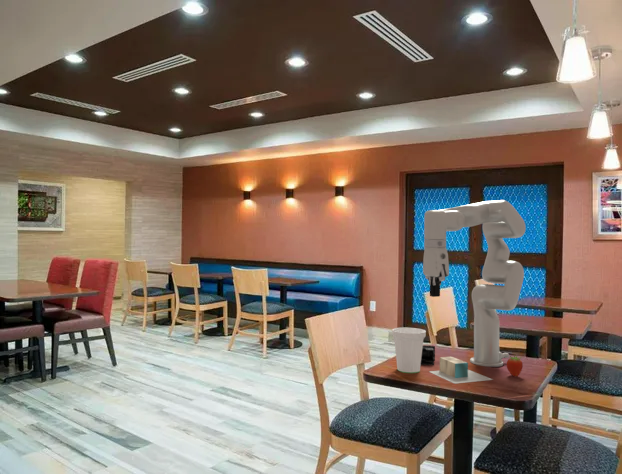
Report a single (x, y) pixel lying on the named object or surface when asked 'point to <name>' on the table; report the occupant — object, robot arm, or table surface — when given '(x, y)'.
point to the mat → (471, 377)
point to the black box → (428, 355)
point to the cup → (408, 348)
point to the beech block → (454, 367)
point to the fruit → (514, 366)
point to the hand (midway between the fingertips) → (434, 296)
